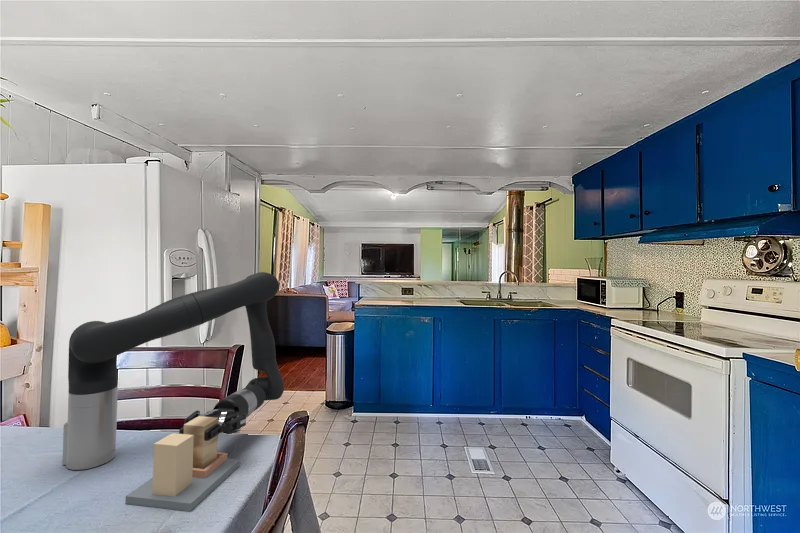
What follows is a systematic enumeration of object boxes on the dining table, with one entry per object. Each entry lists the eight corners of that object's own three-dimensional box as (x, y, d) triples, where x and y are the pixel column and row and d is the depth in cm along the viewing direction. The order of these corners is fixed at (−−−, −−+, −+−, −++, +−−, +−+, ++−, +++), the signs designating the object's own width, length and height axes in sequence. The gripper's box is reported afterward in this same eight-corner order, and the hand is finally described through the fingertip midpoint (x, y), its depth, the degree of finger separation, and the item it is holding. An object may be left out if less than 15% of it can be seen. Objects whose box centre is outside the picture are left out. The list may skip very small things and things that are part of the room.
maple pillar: (182, 469, 83) (183, 424, 83) (197, 458, 88) (198, 416, 88) (202, 471, 83) (204, 426, 83) (216, 460, 88) (218, 417, 88)
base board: (125, 503, 74) (127, 445, 74) (185, 460, 91) (186, 413, 91) (190, 511, 72) (192, 451, 72) (239, 465, 89) (240, 417, 89)
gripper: (211, 391, 101) (164, 416, 84) (262, 395, 99) (224, 420, 82) (210, 419, 101) (163, 449, 84) (261, 423, 99) (223, 455, 82)
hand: (193, 435), depth 83 cm, fingers open, 5 cm apart
